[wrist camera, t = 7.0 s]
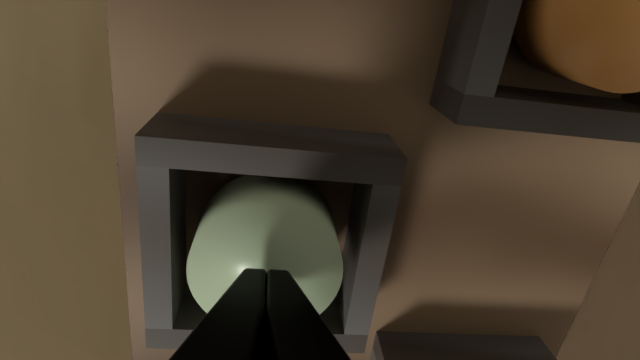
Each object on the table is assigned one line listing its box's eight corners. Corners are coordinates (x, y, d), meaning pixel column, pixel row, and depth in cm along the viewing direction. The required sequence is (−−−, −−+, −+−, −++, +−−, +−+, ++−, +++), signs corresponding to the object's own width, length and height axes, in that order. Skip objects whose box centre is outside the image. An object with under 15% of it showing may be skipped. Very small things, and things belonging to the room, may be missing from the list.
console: (479, 420, 18) (525, 518, 14) (156, 419, 16) (125, 531, 13) (722, -175, 10) (952, -260, 6) (123, -306, 8) (11, -517, 5)
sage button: (325, 289, 11) (331, 335, 9) (199, 283, 11) (186, 331, 9) (343, 177, 10) (354, 211, 8) (200, 166, 9) (185, 199, 8)
